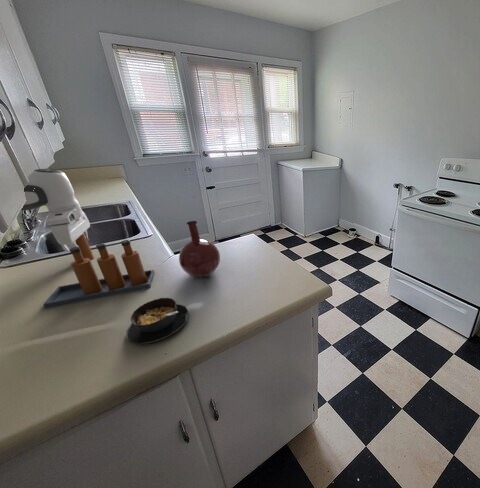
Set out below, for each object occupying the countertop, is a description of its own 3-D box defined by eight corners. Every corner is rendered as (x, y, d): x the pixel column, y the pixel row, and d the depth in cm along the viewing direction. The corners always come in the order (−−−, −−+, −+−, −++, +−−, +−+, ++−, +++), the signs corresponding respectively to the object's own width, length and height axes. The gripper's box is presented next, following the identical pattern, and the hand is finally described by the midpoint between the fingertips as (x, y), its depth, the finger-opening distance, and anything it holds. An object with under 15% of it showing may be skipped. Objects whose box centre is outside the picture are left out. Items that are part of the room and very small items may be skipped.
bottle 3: (130, 287, 89) (114, 245, 83) (133, 280, 93) (118, 239, 87) (146, 284, 91) (132, 242, 85) (148, 277, 95) (135, 237, 88)
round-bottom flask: (223, 263, 105) (213, 214, 97) (222, 280, 94) (211, 226, 85) (186, 268, 102) (173, 218, 93) (181, 287, 90) (165, 232, 82)
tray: (46, 310, 80) (43, 304, 79) (61, 291, 89) (58, 286, 88) (150, 289, 89) (149, 283, 89) (155, 274, 98) (153, 269, 97)
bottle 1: (82, 296, 85) (61, 252, 79) (87, 289, 89) (68, 246, 82) (99, 293, 87) (80, 250, 80) (104, 285, 90) (86, 244, 84)
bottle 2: (107, 291, 87) (88, 249, 81) (111, 284, 91) (93, 243, 85) (123, 288, 89) (107, 246, 82) (127, 281, 93) (111, 240, 86)
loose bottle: (77, 263, 107) (61, 226, 100) (82, 258, 111) (66, 222, 104) (92, 260, 108) (76, 224, 102) (95, 256, 112) (81, 220, 106)
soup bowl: (180, 302, 83) (174, 281, 80) (199, 328, 72) (193, 306, 69) (122, 325, 74) (113, 303, 71) (134, 359, 63) (124, 335, 60)
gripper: (68, 206, 109) (81, 237, 115) (42, 222, 92) (60, 258, 98) (87, 204, 111) (99, 235, 117) (66, 220, 94) (81, 255, 100)
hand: (81, 246), depth 107 cm, fingers open, 8 cm apart
